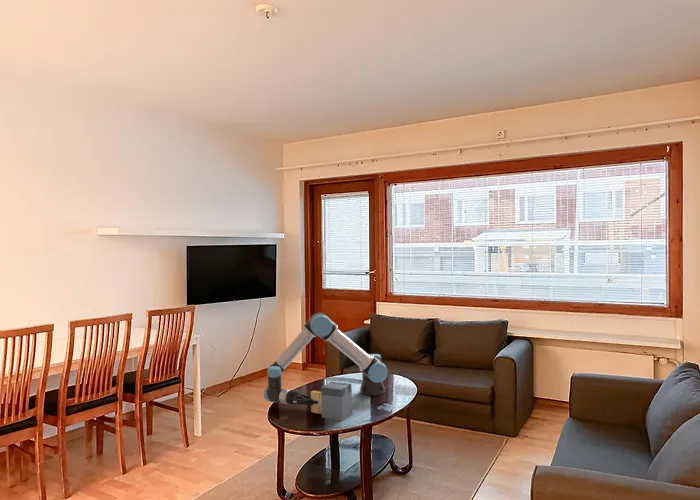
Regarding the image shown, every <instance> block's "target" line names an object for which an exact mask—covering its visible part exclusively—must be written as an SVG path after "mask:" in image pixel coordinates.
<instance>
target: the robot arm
mask: <svg viewBox="0 0 700 500" xmlns="http://www.w3.org/2000/svg"><path fill="white" fill-rule="evenodd" d="M316 337H318V338H320V339H322V340H323V341H324V342H330V344H332V345H333V346H334V347H335V348H336V349H338V350H339V351H340V352H341V353H342V354H344V355H345V357H348V358H349V359H350V360H351V361H352V362H353V363H355V364H356V365H357V366H358V368H359V371H360V372H361V374H362V377H361V378H362V380H361V384H360V388H359V393H360V394H361V395H363V396H369V397H373V396H381V395H383V394H385V392H386V390H385V389H386V388H385V385H384V383H383V382H384V381H385V379H386V378H387V376H388V373H389V372H388V368H387V365H386V364H385V363H383V362H382V355H381V354H379V353H367V352H366V351H365V350H364V349H363V348H361V347H360V346H359V345H358V344H357V343H355V342H354V340H352V339H351V338H350V337H348V336H347V335H345V334H344V333H343V332H342V331H341V330H340V329H339V326H338V324H336V322H335V321H333V320H332V319H331V318H329V316H328V315H326V313H323V312H321V311H320V312H319V311H318V312H314V313H313V314H312V315H311V316H310V317H309V319H308V321H307V322H306V323H305V324H304V325H303V329H302V330H301V331H300V332H299V334H298V335H297V336H296V337H295V338H294V339H293V340H292V341H291V343H290V344H289V345H288V346H287V347H286V348H285V350H283V352H282V353H281V354H280V355H279V356H278V357H277V358H276V360H275V361H274V362H273V363H272V364H270V365H269V367H268V368H267V372H266V374H267V385H268V386H267V387H266V388H265V389H264V392H263V397H264V400H265V401H268V402H271V403H280V404H284V405H291V406H292V405H293V406H294V405H303V406H310V407H311V406H313V404H316V405H322V400H320V399H311V393H307V392H305V393H304V394H303V393H299V392H298V391H297V390H293V389H285V388H282V374H283V373H284V372H285V370H286V368H287V367H289V366H290V364H292V362H293V361H294V360H295V358H297V356H298V355H299V354H300V353H301V352H302V351H303V349H304V348H305V347H306V346H307V345H308V344H309V342H311V341H312V339H313V338H316Z"/></svg>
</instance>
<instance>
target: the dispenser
mask: <svg viewBox="0 0 700 500" xmlns="http://www.w3.org/2000/svg"><path fill="white" fill-rule="evenodd" d="M352 389H353V388H352V383H348V382H339V381H337V382H336V381H330V382H329V383H326V384H324V385H322V386H320V390H321V391H320V392H321V393H320V395H321V399H322V414H321V418H322V419H328V420H336V421H344V420H346V419H347V418H348V417H350V416H351V415H353V396H352V395H353V393H352V392H353V391H352Z"/></svg>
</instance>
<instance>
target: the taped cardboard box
mask: <svg viewBox="0 0 700 500" xmlns="http://www.w3.org/2000/svg"><path fill="white" fill-rule="evenodd" d="M320 393H321V391H320V390H319V391H318V390H312V391H310V394H311V399H320V400H322V399H321V395H320ZM310 408H311V409H310V411H311V413H314V414H321V415H322V405H316V404H313V406H311V405H310Z"/></svg>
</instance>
